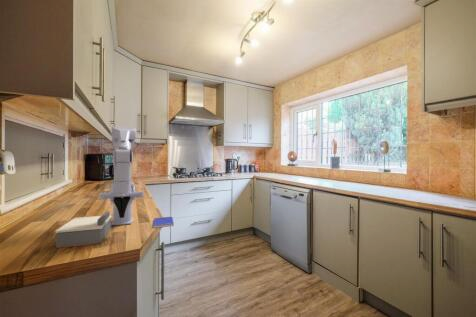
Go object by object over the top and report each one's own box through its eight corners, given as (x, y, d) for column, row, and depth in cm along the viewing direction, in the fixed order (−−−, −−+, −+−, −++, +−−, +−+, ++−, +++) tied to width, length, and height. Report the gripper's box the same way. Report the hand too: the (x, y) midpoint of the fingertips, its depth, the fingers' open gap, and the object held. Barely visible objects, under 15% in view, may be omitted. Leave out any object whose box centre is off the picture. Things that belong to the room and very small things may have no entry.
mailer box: (75, 231, 82) (75, 220, 82) (110, 228, 86) (111, 217, 86) (56, 248, 67) (56, 233, 67) (100, 243, 71) (100, 229, 71)
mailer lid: (74, 219, 82) (75, 212, 82) (111, 216, 86) (111, 210, 86) (55, 232, 66) (55, 224, 67) (101, 228, 71) (101, 221, 71)
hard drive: (173, 223, 90) (172, 216, 102) (153, 225, 87) (154, 218, 99) (173, 227, 90) (172, 219, 102) (153, 229, 87) (154, 221, 99)
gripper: (97, 182, 74) (96, 221, 74) (142, 181, 79) (142, 218, 79) (102, 180, 81) (101, 216, 81) (144, 179, 86) (143, 213, 86)
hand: (122, 217), depth 80 cm, fingers closed
